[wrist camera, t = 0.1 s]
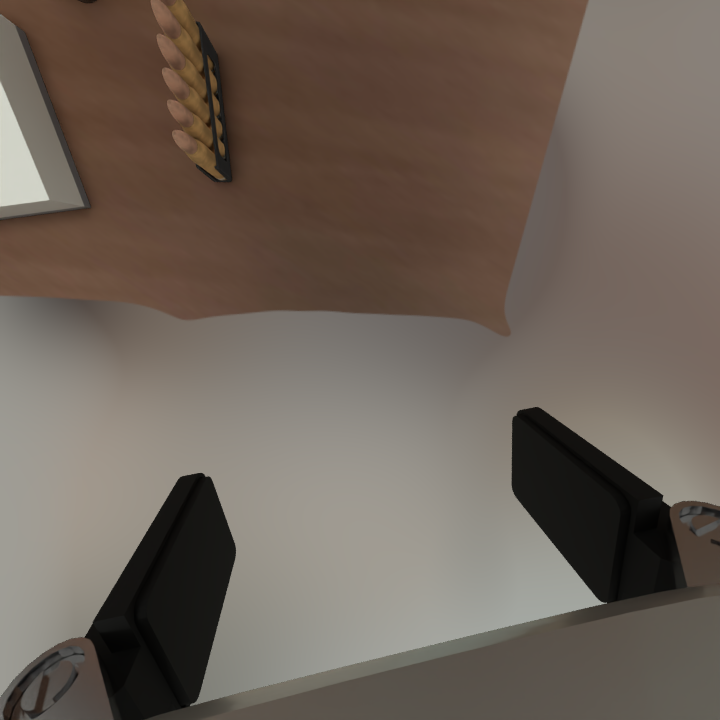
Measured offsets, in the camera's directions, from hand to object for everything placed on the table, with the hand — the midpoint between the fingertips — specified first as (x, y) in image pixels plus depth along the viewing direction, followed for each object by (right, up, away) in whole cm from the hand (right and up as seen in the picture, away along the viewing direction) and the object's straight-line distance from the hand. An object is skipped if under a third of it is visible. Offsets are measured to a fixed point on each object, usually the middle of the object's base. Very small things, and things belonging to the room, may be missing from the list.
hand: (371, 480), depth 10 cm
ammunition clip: (-14, +27, +22) cm, 38 cm away
